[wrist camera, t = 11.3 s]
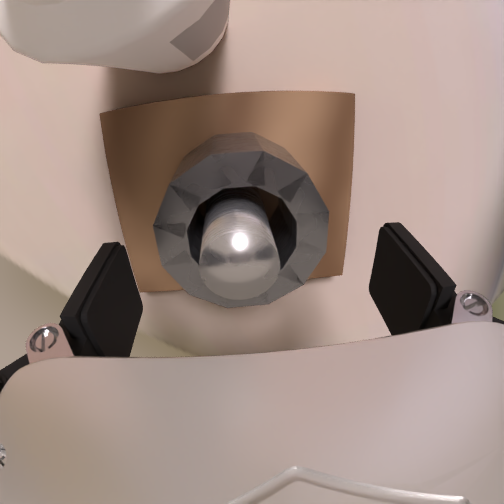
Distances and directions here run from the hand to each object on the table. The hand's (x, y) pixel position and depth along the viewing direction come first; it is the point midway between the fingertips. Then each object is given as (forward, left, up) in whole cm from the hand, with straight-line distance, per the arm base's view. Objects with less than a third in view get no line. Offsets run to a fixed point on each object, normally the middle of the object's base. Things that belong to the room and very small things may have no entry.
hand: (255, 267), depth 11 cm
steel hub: (0, 0, -7) cm, 7 cm away
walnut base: (+1, 0, -9) cm, 9 cm away
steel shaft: (+1, 0, -7) cm, 7 cm away
